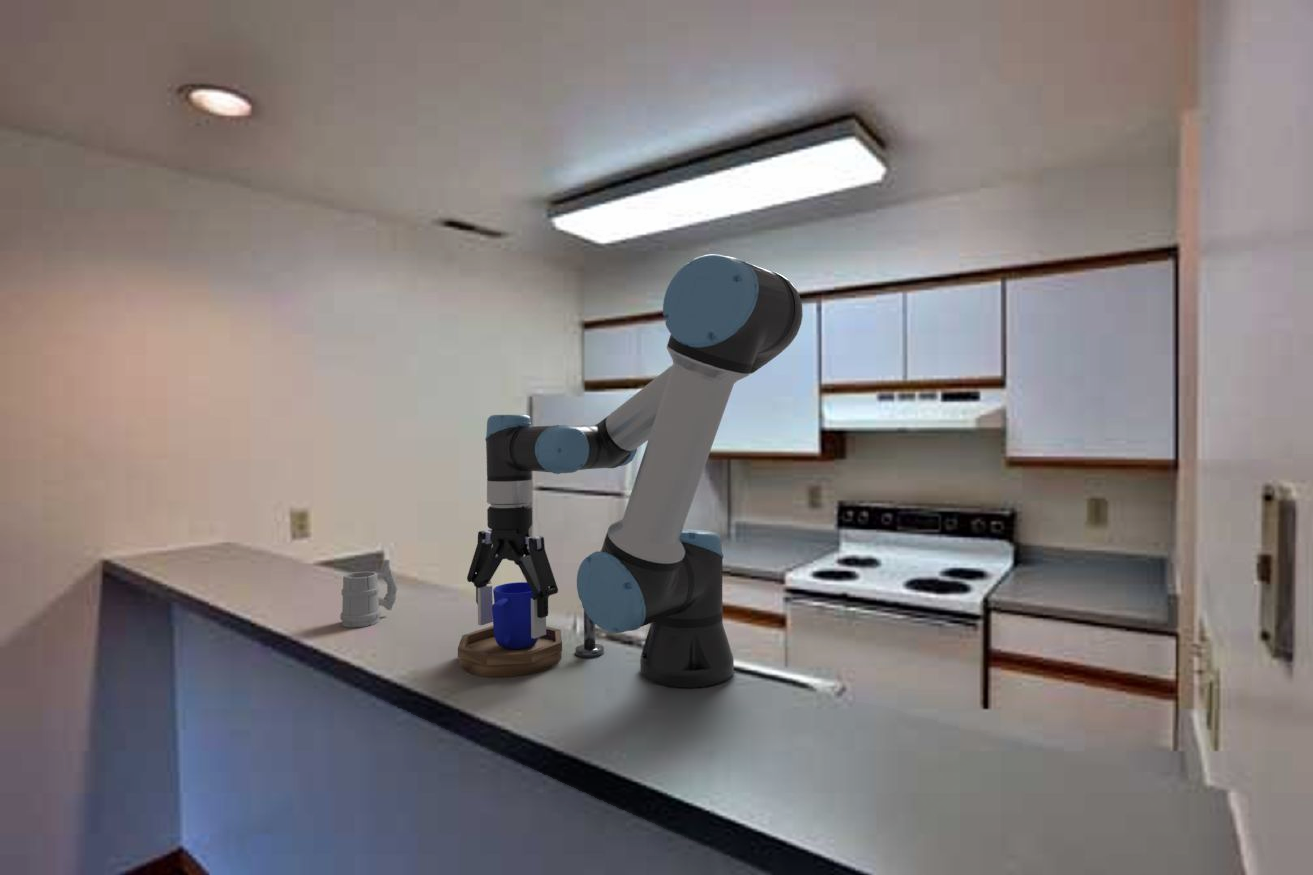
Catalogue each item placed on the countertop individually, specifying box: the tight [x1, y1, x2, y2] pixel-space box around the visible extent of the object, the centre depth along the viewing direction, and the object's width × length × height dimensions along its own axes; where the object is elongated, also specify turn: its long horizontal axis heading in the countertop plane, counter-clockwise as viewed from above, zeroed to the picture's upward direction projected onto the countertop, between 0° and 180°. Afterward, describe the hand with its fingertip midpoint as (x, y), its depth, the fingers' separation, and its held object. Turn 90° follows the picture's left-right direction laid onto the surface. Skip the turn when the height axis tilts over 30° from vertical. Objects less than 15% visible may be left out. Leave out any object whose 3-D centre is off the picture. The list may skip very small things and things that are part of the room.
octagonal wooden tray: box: [457, 625, 563, 678], centre depth 118 cm, size 17×17×4 cm
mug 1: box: [339, 559, 398, 629], centre depth 142 cm, size 8×12×12 cm, turn 143°
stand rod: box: [574, 610, 605, 658], centre depth 121 cm, size 5×5×8 cm
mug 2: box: [492, 581, 541, 649], centre depth 117 cm, size 8×12×10 cm
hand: (511, 629), depth 118 cm, fingers open, 12 cm apart
